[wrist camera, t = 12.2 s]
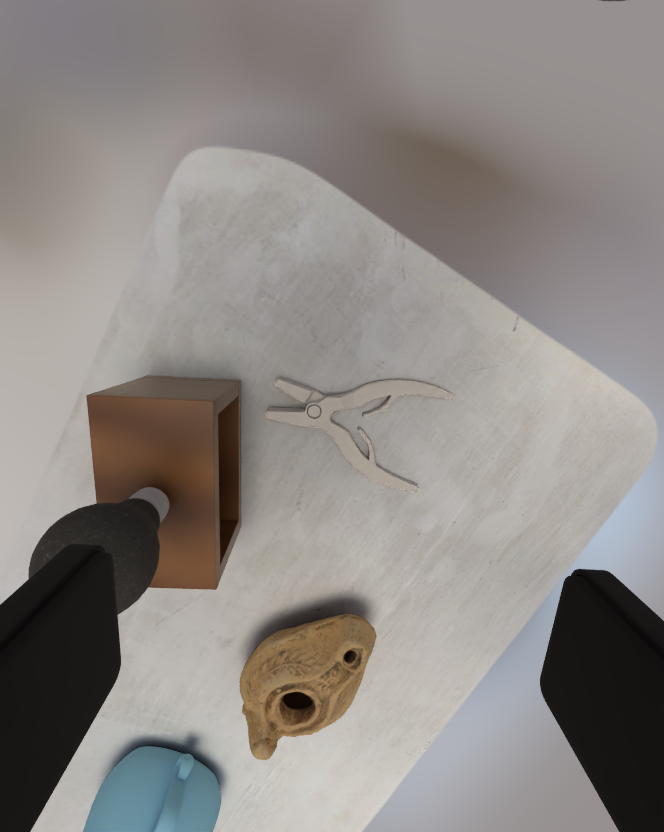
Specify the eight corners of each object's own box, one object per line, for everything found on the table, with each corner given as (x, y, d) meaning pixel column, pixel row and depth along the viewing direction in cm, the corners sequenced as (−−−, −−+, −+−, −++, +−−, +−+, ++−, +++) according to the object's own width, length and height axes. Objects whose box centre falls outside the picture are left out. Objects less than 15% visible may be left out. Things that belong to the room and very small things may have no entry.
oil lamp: (394, 614, 40) (412, 685, 32) (315, 714, 43) (313, 801, 35) (303, 564, 39) (298, 625, 31) (226, 671, 41) (204, 752, 34)
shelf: (147, 375, 34) (86, 395, 25) (241, 380, 34) (213, 401, 25) (155, 523, 37) (104, 586, 29) (241, 526, 38) (216, 589, 29)
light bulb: (98, 506, 27) (-27, 612, 17) (141, 443, 26) (33, 517, 16) (170, 550, 28) (88, 673, 18) (213, 490, 27) (151, 587, 17)
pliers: (418, 498, 35) (255, 452, 34) (414, 490, 37) (258, 446, 36) (458, 394, 33) (286, 340, 32) (452, 391, 35) (287, 339, 33)
